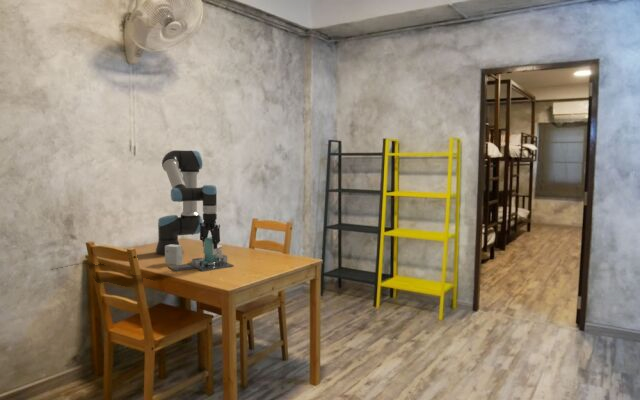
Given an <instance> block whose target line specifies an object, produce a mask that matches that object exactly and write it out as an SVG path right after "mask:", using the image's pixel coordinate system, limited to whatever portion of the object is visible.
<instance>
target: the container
mask: <svg viewBox="0 0 640 400" xmlns="http://www.w3.org/2000/svg"><path fill="white" fill-rule="evenodd" d="M216 255H223V245H222V244H220V242H218V243H217V254H215V258H216Z"/></svg>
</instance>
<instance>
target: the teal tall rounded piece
mask: <svg viewBox="0 0 640 400" xmlns="http://www.w3.org/2000/svg"><path fill="white" fill-rule="evenodd" d="M212 243H213V240H212V236H211V237H207V238H205V239H204V251H203V253H204V252H205V253H204V261H200V264H207V263H215V262H216V261H219V260H220V259H219V258H215V255H212Z"/></svg>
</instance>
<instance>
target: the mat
mask: <svg viewBox="0 0 640 400" xmlns="http://www.w3.org/2000/svg"><path fill="white" fill-rule="evenodd" d="M167 268H168V269H170V270H172V271H174V272H176V273H177V272H183V271H188V270H189V271H190V270H197V269H196V268H195V267H193V266H191V265H189V264H187V263H181V264H178V265H170V266H169V265H168V267H167Z"/></svg>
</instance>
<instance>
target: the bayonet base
mask: <svg viewBox="0 0 640 400" xmlns="http://www.w3.org/2000/svg"><path fill="white" fill-rule="evenodd" d="M216 258H219V259H220V260H219V261H216V262H215V263H207V264H200V261H205V258H203V257H198V258H197V257H196V258H192V259H191V260H192V261H191V262H187V263H186V264H189V265H191V266H193V267H195V268H196V269H195V270H198V271H200V272H207V271H213V270H221V269H225V268H226V269H227V268H232V267H234V264H232V263H230V262H228V255H226V254H223V253H222V255H216Z"/></svg>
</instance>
